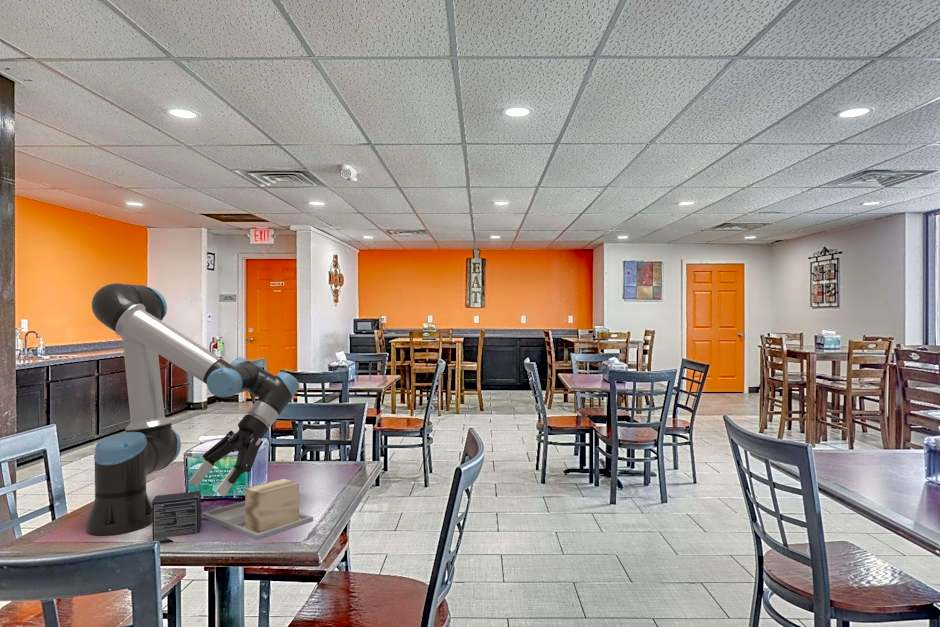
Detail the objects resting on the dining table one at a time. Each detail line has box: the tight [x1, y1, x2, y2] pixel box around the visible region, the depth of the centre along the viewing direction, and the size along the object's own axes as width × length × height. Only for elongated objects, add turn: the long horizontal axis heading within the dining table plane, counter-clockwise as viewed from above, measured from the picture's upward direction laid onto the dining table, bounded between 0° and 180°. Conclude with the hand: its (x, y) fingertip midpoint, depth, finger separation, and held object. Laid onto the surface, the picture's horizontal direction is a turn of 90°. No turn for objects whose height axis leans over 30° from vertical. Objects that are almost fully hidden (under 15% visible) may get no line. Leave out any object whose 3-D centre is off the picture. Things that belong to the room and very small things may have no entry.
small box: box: [151, 490, 202, 545], centre depth 142 cm, size 11×6×10 cm, turn 111°
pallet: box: [201, 500, 314, 541], centre depth 150 cm, size 27×16×2 cm, turn 52°
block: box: [244, 478, 300, 533], centre depth 146 cm, size 7×11×10 cm, turn 142°
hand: (205, 488), depth 146 cm, fingers open, 13 cm apart
